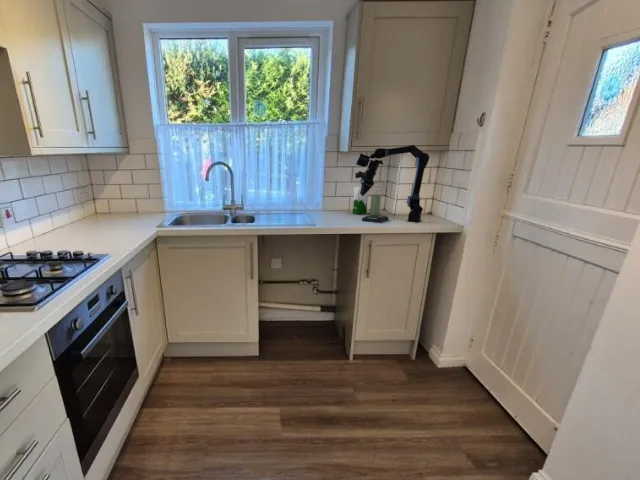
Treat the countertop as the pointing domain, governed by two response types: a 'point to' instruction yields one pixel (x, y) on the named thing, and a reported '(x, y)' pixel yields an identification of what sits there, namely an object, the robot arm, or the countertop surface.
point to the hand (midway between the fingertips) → (361, 195)
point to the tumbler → (375, 204)
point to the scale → (375, 218)
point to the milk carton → (359, 202)
